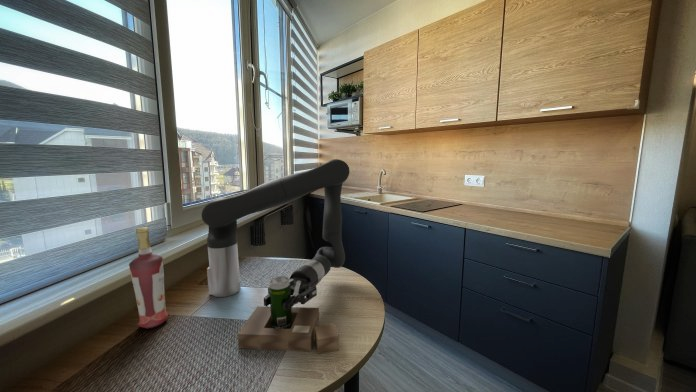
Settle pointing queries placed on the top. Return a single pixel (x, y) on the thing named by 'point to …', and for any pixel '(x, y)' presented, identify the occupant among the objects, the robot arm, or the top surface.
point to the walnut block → (326, 338)
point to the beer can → (279, 302)
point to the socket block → (279, 330)
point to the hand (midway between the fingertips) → (274, 305)
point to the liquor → (148, 283)
